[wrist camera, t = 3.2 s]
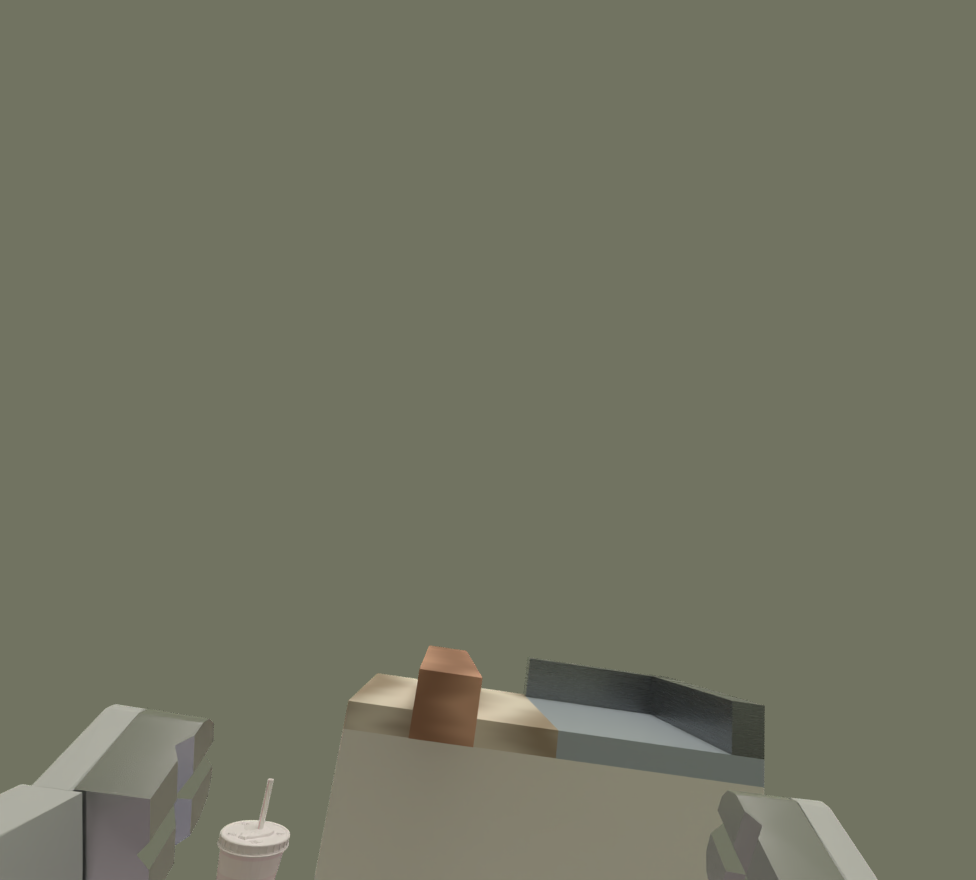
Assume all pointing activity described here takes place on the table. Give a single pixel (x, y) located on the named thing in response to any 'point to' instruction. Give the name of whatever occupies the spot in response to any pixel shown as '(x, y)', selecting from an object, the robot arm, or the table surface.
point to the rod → (446, 698)
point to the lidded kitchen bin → (541, 781)
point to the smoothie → (252, 847)
